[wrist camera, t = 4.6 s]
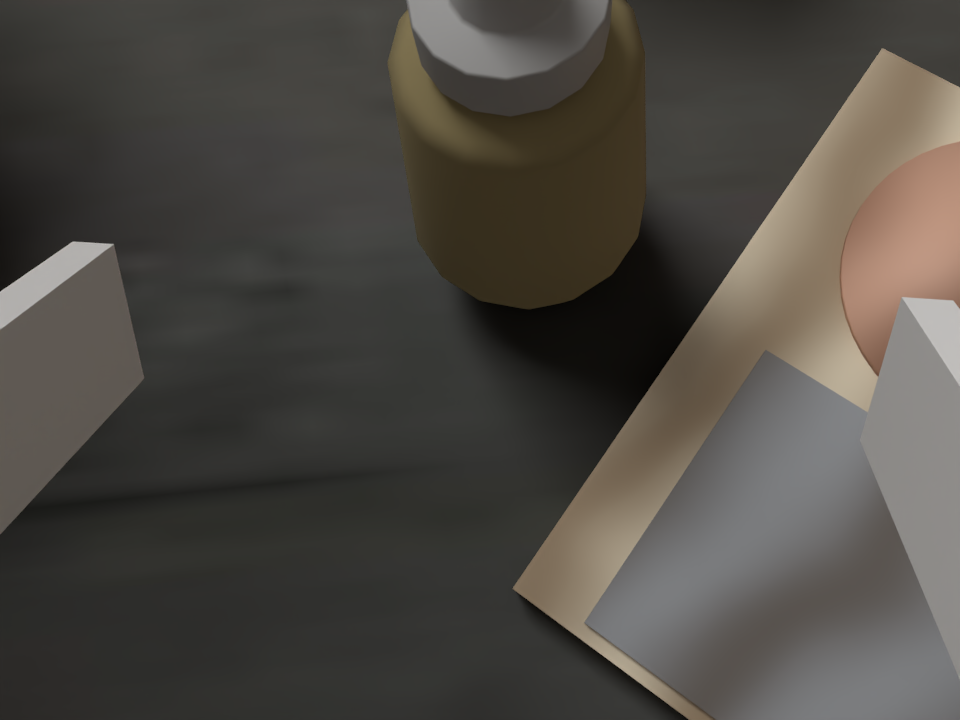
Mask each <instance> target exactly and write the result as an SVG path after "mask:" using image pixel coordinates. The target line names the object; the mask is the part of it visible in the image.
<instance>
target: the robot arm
mask: <svg viewBox="0 0 960 720" xmlns="http://www.w3.org/2000/svg"><path fill="white" fill-rule="evenodd" d="M143 379H144V375H143V371H142V366H141V362H140V358H139V353H138V349H137V344H136V340H135V335H134V331H133V327H132V322H131V318H130V313H129V309H128V305H127V300H126V296H125V291H124V287H123V283H122V278H121V274H120V269H119V265H118V261H117V256H116V252H115V247H114V244H102V243H88V242H71V243H70V244H69V245H67V246H66V247H64V248H63V249H61V250H60V251H58V252H57V253H56V254H54V255H53V256H51V257H50V258H48V259H47V260H45V261H44V262H42V263H41V264H40V265H38V266H37V267H35V268H34V269H32V270H31V271H29V272H28V273H27V274H25V275H24V276H22V277H21V278H19V279H18V280H16V281H15V282H14V283H12V284H11V285H9V286H8V287H6V288H5V289H3V290H2V291H1V292H0V534H1V533H2V532H3V531H4V530H5V529H6V528H7V527H8V526H9V524H10V523H11V522H12V521H13V520H14V519H15V518H16V517H17V516H18V515H19V514H20V513H21V511H22V510H23V509H24V508H25V507H26V506H27V505H28V504H29V503H30V502H31V501H32V500H33V498H34V497H35V496H36V495H37V494H38V493H39V492H40V491H41V490H42V489H43V488H44V487H45V485H46V484H47V483H48V482H49V481H50V480H51V479H52V478H53V477H54V476H55V475H56V474H57V472H58V471H59V470H60V469H61V468H62V467H63V466H64V465H65V464H66V463H67V462H68V461H69V459H70V458H71V457H72V456H73V455H74V454H75V453H76V452H77V451H78V450H79V449H80V448H81V446H82V445H83V444H84V443H85V442H86V441H87V440H88V439H89V438H90V437H91V436H92V435H93V433H94V432H95V431H96V430H97V429H98V428H99V427H100V426H101V425H102V424H103V423H104V422H105V420H106V419H107V418H108V417H109V416H110V415H111V414H112V413H113V412H114V411H115V410H116V409H117V407H118V406H119V405H120V404H121V403H122V402H123V401H124V400H125V399H126V398H127V397H128V396H129V394H130V393H131V392H132V391H133V390H134V389H135V388H136V387H137V386H138V385H139V384H140V383H141V382H142V380H143ZM860 442H861V444H862V447H863V449H864V451H865V454H866V456H867V459H868V461H869V463H870V466H871V468H872V471H873V473H874V475H875V478H876V480H877V483H878V485H879V487H880V490H881V492H882V495H883V497H884V499H885V502H886V504H887V507H888V509H889V511H890V514H891V516H892V519H893V521H894V523H895V526H896V528H897V531H898V533H899V535H900V538H901V540H902V542H903V545H904V547H905V550H906V552H907V554H908V557H909V559H910V562H911V564H912V566H913V569H914V571H915V574H916V576H917V578H918V581H919V583H920V586H921V588H922V590H923V593H924V595H925V598H926V600H927V602H928V605H929V607H930V610H931V612H932V614H933V617H934V619H935V622H936V624H937V626H938V629H939V631H940V634H941V636H942V638H943V641H944V643H945V646H946V648H947V650H948V653H949V655H950V658H951V660H952V662H953V665H954V667H955V670H956V672H957V674H958V677H959V679H960V309H959V307H958V306H957V305H956V303H955V302H954V301H953V300H938V299H923V298H908V297H902V298H901V301H900V304H899V308H898V311H897V315H896V318H895V322H894V325H893V328H892V332H891V335H890V339H889V342H888V346H887V349H886V352H885V356H884V359H883V363H882V366H881V370H880V373H879V376H878V380H877V383H876V387H875V390H874V394H873V397H872V400H871V404H870V407H869V411H868V414H867V418H866V421H865V424H864V428H863V431H862V435H861V438H860Z"/></svg>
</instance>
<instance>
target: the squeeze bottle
mask: <svg viewBox="0 0 960 720" xmlns="http://www.w3.org/2000/svg"><path fill="white" fill-rule="evenodd" d="M406 2H407V7H408V9H407V11H406V12H405V13H404V14H403V16H402V17H401V18H400V20H399V22H398V26H397V30H396V33H395V37H394V41H393V44H392V48H391V52H390V55H389V59H388V69H389V74H390V80H391V86H392V92H393V98H394V104H395V110H396V116H397V122H398V128H399V134H400V139H401V145H402V151H403V157H404V163H405V169H406V175H407V181H408V187H409V193H410V199H411V205H412V210H413V216H414V222H415V228H416V234H417V240H418V242H419V244H420V245H421V247H422V248H423V250H424V251H425V253H426V254H427V256H428V257H429V258H430V260H431V261H432V263H433V264H434V266H435V267H436V269H437V270H438V272H439V273H440V275H441V276H442V277H443V278H445V279H446V280H448V281H449V282H451V283H453V284H454V285H456V286H457V287H459V288H460V289H462V290H464V291H465V292H467V293H468V294H470V295H471V296H473V297H474V298H476V299H478V300H479V301H483V302H489V303H494V304H500V305H505V306H511V307H516V308H522V309H534V308H540V307H545V306H550V305H555V304H560V303H563V302H567V301H571V300H573V299H575V298H577V297H578V296H580V295H581V294H583V293H584V292H586V291H587V290H589V289H591V288H592V287H594V286H595V285H597V284H598V283H600V282H601V281H603V280H605V279H606V278H608V277H609V276H611V275H612V274H613V273H614V271H615V270H616V268H617V267H618V266H619V264H620V263H621V261H622V260H623V258H624V257H625V255H626V254H627V252H628V251H629V250H630V248H631V247H632V245H633V244H634V242H635V241H636V239H637V238H638V235H639V229H640V224H641V219H642V213H643V208H644V203H645V197H646V128H645V51H644V48H643V44H642V40H641V36H640V32H639V29H638V25H637V21H636V17H635V14H634V10H633V9H632V8H631V6H630V5H629V4H628V3H627V2H626V0H406Z"/></svg>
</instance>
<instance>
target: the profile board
mask: <svg viewBox="0 0 960 720" xmlns="http://www.w3.org/2000/svg"><path fill="white" fill-rule="evenodd" d="M902 297H908V298H923V299H938V300H953V301H954V302H955V303H956V305H957V306H958V307H959V309H960V88H959V87H957V86H956V85H954V84H952V83H950V82H948V81H946V80H944V79H942V78H940V77H938V76H936V75H934V74H932V73H930V72H928V71H926V70H924V69H922V68H920V67H918V66H916V65H914V64H912V63H910V62H908V61H906V60H905V59H903V58H901V57H899V56H897V55H895V54H893V53H891V52H889V51H887V50H885V49H883V48H882V50H881V51H880V52H879V54H878V55H877V57H876V58H875V60H874V61H873V63H872V64H871V66H870V67H869V69H868V70H867V71H866V73H865V74H864V76H863V77H862V79H861V80H860V82H859V83H858V85H857V86H856V88H855V89H854V90H853V92H852V93H851V95H850V96H849V98H848V99H847V101H846V102H845V104H844V105H843V107H842V108H841V109H840V111H839V112H838V114H837V115H836V117H835V118H834V120H833V121H832V123H831V124H830V126H829V127H828V128H827V130H826V131H825V133H824V134H823V136H822V137H821V139H820V140H819V142H818V143H817V145H816V146H815V147H814V149H813V150H812V152H811V153H810V155H809V156H808V158H807V159H806V161H805V162H804V164H803V165H802V166H801V168H800V169H799V171H798V172H797V174H796V175H795V177H794V178H793V180H792V181H791V182H790V184H789V185H788V187H787V188H786V190H785V191H784V193H783V194H782V196H781V197H780V199H779V200H778V201H777V203H776V204H775V206H774V207H773V209H772V210H771V212H770V213H769V215H768V216H767V218H766V219H765V220H764V222H763V223H762V225H761V226H760V228H759V229H758V231H757V232H756V234H755V235H754V237H753V238H752V239H751V241H750V242H749V244H748V245H747V247H746V248H745V250H744V251H743V253H742V254H741V256H740V257H739V258H738V260H737V261H736V263H735V264H734V266H733V267H732V269H731V270H730V272H729V273H728V275H727V276H726V277H725V279H724V280H723V282H722V283H721V285H720V286H719V288H718V289H717V291H716V292H715V294H714V295H713V296H712V298H711V299H710V301H709V302H708V304H707V305H706V307H705V308H704V310H703V311H702V312H701V314H700V315H699V317H698V318H697V320H696V321H695V323H694V324H693V326H692V327H691V329H690V330H689V331H688V333H687V334H686V336H685V337H684V339H683V340H682V342H681V343H680V345H679V346H678V348H677V349H676V350H675V352H674V353H673V355H672V356H671V358H670V359H669V361H668V362H667V364H666V365H665V367H664V368H663V369H662V371H661V372H660V374H659V375H658V377H657V378H656V380H655V381H654V383H653V384H652V386H651V387H650V388H649V390H648V391H647V393H646V394H645V396H644V397H643V399H642V400H641V402H640V403H639V405H638V406H637V407H636V409H635V410H634V412H633V413H632V415H631V416H630V418H629V419H628V421H627V422H626V424H625V425H624V426H623V428H622V429H621V431H620V432H619V434H618V435H617V437H616V438H615V440H614V441H613V442H612V444H611V445H610V447H609V448H608V450H607V451H606V453H605V454H604V456H603V457H602V459H601V460H600V461H599V463H598V464H597V466H596V467H595V469H594V470H593V472H592V473H591V475H590V476H589V478H588V479H587V480H586V482H585V483H584V485H583V486H582V488H581V489H580V491H579V492H578V494H577V495H576V497H575V498H574V499H573V501H572V502H571V504H570V505H569V507H568V508H567V510H566V511H565V513H564V514H563V516H562V517H561V518H560V520H559V521H558V523H557V524H556V526H555V527H554V529H553V530H552V532H551V533H550V535H549V536H548V537H547V539H546V540H545V542H544V543H543V545H542V546H541V548H540V549H539V551H538V552H537V554H536V555H535V556H534V558H533V559H532V561H531V562H530V564H529V565H528V567H527V568H526V570H525V571H524V572H523V574H522V575H521V577H520V578H519V580H518V581H517V583H516V584H515V586H514V587H513V589H514V590H515V591H516V592H518V593H519V594H520V595H522V596H523V597H524V598H526V599H527V600H528V601H530V602H531V603H532V604H534V605H535V606H536V607H538V608H539V609H541V610H542V611H543V612H545V613H546V614H547V615H549V616H550V617H551V618H553V619H554V620H555V621H557V622H558V623H559V624H561V625H562V626H563V627H565V628H566V629H567V630H569V631H570V632H572V633H573V634H574V635H576V636H577V637H578V638H580V639H581V640H582V641H584V642H585V643H586V644H588V645H589V646H590V647H592V648H593V649H594V650H596V651H597V652H599V653H600V654H601V655H603V656H604V657H605V658H607V659H608V660H609V661H611V662H612V663H613V664H615V665H616V666H617V667H619V668H620V669H621V670H623V671H624V672H625V673H627V674H628V675H630V676H631V677H632V678H634V679H635V680H636V681H638V682H639V683H640V684H642V685H643V686H644V687H646V688H647V689H648V690H650V691H651V692H652V693H654V694H655V695H657V696H658V697H659V698H661V699H662V700H663V701H665V702H666V703H667V704H669V705H670V706H671V707H673V708H674V709H675V710H677V711H678V712H679V713H681V714H682V715H683V716H685V717H686V718H688V719H689V720H960V679H959V677H958V674H957V672H956V670H955V667H954V665H953V662H952V660H951V658H950V655H949V653H948V650H947V648H946V646H945V643H944V641H943V638H942V636H941V634H940V631H939V629H938V626H937V624H936V622H935V619H934V617H933V614H932V612H931V610H930V607H929V605H928V602H927V600H926V598H925V595H924V593H923V590H922V588H921V586H920V583H919V581H918V578H917V576H916V574H915V571H914V569H913V566H912V564H911V562H910V559H909V557H908V554H907V552H906V550H905V547H904V545H903V542H902V540H901V538H900V535H899V533H898V531H897V528H896V526H895V523H894V521H893V519H892V516H891V514H890V511H889V509H888V507H887V504H886V502H885V499H884V497H883V495H882V492H881V490H880V487H879V485H878V483H877V480H876V478H875V475H874V473H873V471H872V468H871V466H870V463H869V461H868V459H867V456H866V454H865V451H864V449H863V447H862V444H861V442H860V438H861V435H862V431H863V428H864V424H865V421H866V418H867V414H868V411H869V407H870V404H871V400H872V397H873V394H874V390H875V387H876V383H877V380H878V376H879V373H880V370H881V366H882V363H883V359H884V356H885V352H886V349H887V346H888V342H889V339H890V335H891V332H892V328H893V325H894V322H895V318H896V315H897V311H898V308H899V304H900V301H901V298H902Z"/></svg>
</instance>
